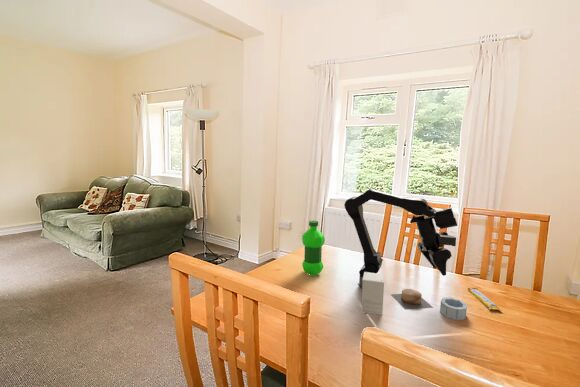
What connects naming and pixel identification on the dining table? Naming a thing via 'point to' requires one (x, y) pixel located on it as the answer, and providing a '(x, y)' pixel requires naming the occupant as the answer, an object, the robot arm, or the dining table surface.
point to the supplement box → (372, 293)
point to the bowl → (453, 308)
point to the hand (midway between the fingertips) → (439, 271)
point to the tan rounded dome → (411, 297)
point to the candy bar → (483, 299)
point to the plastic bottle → (313, 249)
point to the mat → (407, 306)
